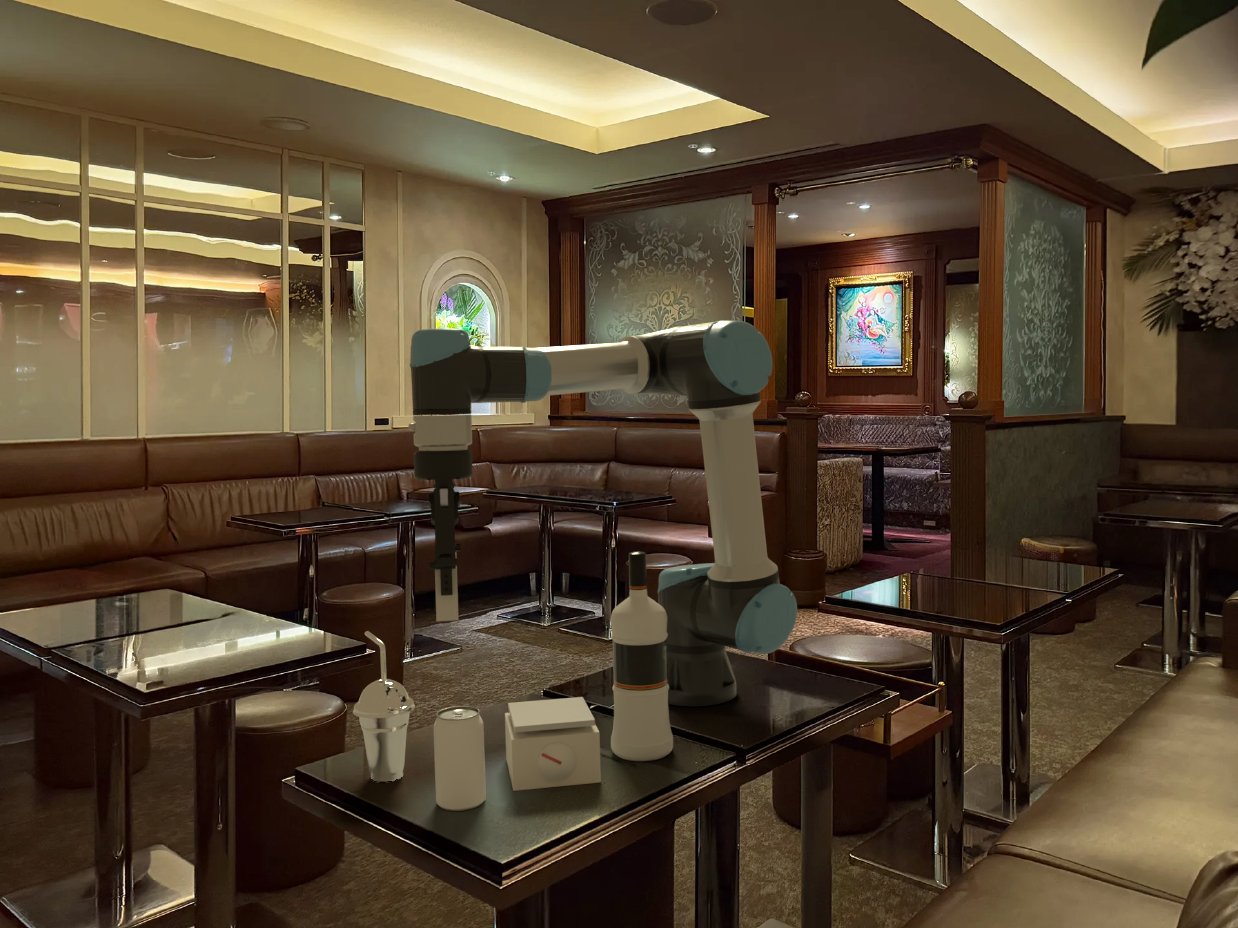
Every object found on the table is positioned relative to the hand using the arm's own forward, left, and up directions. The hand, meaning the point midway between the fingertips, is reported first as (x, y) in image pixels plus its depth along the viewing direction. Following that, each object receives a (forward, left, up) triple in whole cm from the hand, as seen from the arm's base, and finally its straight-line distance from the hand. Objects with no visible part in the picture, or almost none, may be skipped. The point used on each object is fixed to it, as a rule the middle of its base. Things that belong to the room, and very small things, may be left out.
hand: (447, 609), depth 129 cm
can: (-1, +2, -26) cm, 26 cm away
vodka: (-28, -10, -26) cm, 39 cm away
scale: (-14, -6, -25) cm, 29 cm away
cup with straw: (+9, -10, -25) cm, 29 cm away
